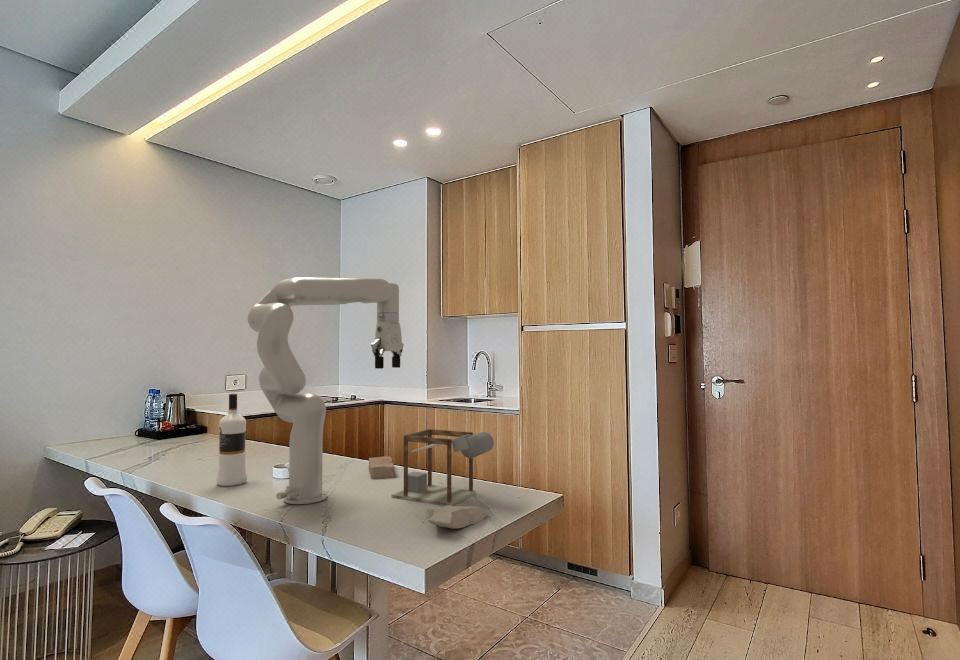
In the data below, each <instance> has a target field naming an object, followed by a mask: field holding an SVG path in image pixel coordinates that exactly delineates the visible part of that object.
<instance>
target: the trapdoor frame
mask: <svg viewBox="0 0 960 660" xmlns="http://www.w3.org/2000/svg"><path fill="white" fill-rule="evenodd" d="M467 434H470V435H474V432H472V431H462V430H461V431H459V430H458V431H457V430H449V429H448V430H447V429H446V430H444V429H435V428H434V429H431V428H427V429H425V430H420V431H416V432H413V433H410V434H409V433H408V434H405V435H403V489H401V490H398V491H397V492H394V493H392V494H390V496H391V498H393V499H400V500H406V501H414V502H419V503H420V502H421V503H426V504H434V505H439V506H440V505H441V506H447V505H451V506H456V505H457V504H459V503H460V502H462V501H464V500H466V499H467V498H470V497H471V496H473V495H475V494H476V490H474V458H468V489H465V488H457V487H452V443H451V439H452V438H441V437H432V436H442V437H454V438H458V437H461V436H464V435H467ZM409 442H410V443H422V444H427V445H431V444H442V445H441V446H443V445H444V446H446V486H441V485H435V484H432V483H433V482H432V481H433V473H432V472H433V470H432V469H433V468H432V466H433V460H432V459H433V455H432V454H433V451H432V449H433V447H432V448H428V449H427V489H426V490H424V491H422V492H419V493H414V492H408V473H409Z"/></svg>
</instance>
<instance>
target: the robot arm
mask: <svg viewBox="0 0 960 660" xmlns="http://www.w3.org/2000/svg"><path fill="white" fill-rule="evenodd" d="M352 303H353V304H355V303H362V304H372V303H376V315H377V316H376V326H375V331H374V332H375V336H374V341H373V342H372V343H371V344H370V347H371V351H372V354H373V357H374V368H375V369H378V370H379V369H384V366H385V365H384V361H385V360H384V358H385V357H384V356H383V355H384V354H385V352H391V354H392V356H391V367H392V368H393V369H394V368H401V356H402V353H403V351H404V350H403V349H404V345H405V344H404V343H403V342H402V341H403V340H402V339H403V337H402V327H401V324H400V287H399V285H398V284H397V283H393V282H388V281H387V280H386V279H383V278H348V277H346V278H345V277H311V276H308V277H307V276H303V277H302V276H299V277H298V276H297V277H291V278H286V279H282V280H280V281H278V282H277V283H276V284H275V285H274V286H273V287H271V288H270V289H269V290H268V291H267V292H266V293H265V294H264V296H262V297H261V298H260V299H259V300H258V301H257V302H256V303H255V304H254V305H253V306H252V308H250V310H249V312H248V314H247V322H248V325H249V327H250V328H251V329H252V330H253V331H255V332H256V333H257V334H258V335H257V340H256V348H257V353H258V356H259V359H260V360H261V363H262V364H263V366H264V367H263V368H262V369H261V370H260V373H259V374H258V375H259V376H258V381H259V382H258V383H259V387H260V389H261V390H262V393H263V394H264V397H266V399H267V400H268V403H269V404H270V406H271V407H272V409H273V411H274V413H276V415H277V417H278V418H280V419H281V420H282V421H283V422H287V423H292V428H291V429H290V430H291V431H290V435H289V441H288V442H289V449H288V450H289V454H288V455H289V456H288V457H289V458H288V459H289V460H288V461H289V463H288V464H289V465H288V466H289V469H288V471H289V473H288V475H289V476H288V477H289V479H288V485H286V489H285V490H284V491H280V492H277V493H276V495H275V497H276V499H277V500H278V501H280V500H282V499H283V502H284V503H286V504H291V505H308V504H315V503H319V502H322V501H324V500H326V499H327V498H328V491H325V490H323V456H324V455H323V454H324V453H323V449H324V448H323V447H324V446H323V443H324V442H323V439H324V438H323V435H324V425H325V420H326V414H327V407H326V406H327V405H326V403H325V401H324V399H323V398H322V397H320V395H317V394H315V393H311V392H304V391H303V390H304V388H305V387H306V384H307V379H306V375H305V373H304V371H303V369H302V367H301V366H300V364H299V362H298V361H297V359H296V357H295V355H294V354H293V351H292V350H291V347H290V345H289V340H288V338H289V332H290V330H291V327H292V325H293V323H294V312H293V309H291V307H295V306H296V307H297V306H335V305H337V306H339V305H347V304H352ZM302 391H303V392H302Z"/></svg>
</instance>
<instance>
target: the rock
mask: <svg viewBox="0 0 960 660" xmlns="http://www.w3.org/2000/svg"><path fill="white" fill-rule="evenodd" d="M426 511H427V514H428V516H429V518H427V522H428V523H429V524H432V525H435V526H438V527H440V528H447V529H448V528H449V529H454V530H455V529H462V528H465V527H467V526H470V525H471V526H472V525H476V524H478V523H479V522H481V521H482V520H484V519H485V518H487V516H488V514H489V511H488V510H487V509H485V508H482V507H479V506H463V505H461V506H460V505H459V506H456V505H453V506H451V505H447V506H446V505H443V506H440V507H439V506H437V507H428V508H427V510H426ZM477 522H478V523H477Z"/></svg>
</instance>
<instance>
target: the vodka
mask: <svg viewBox="0 0 960 660" xmlns="http://www.w3.org/2000/svg"><path fill="white" fill-rule="evenodd" d="M218 426H219V429H218V430H219V435H218V437H219V439H218V441H219V443H218V470H217V471H218V472H217V476H216V484H217V485H218V486H220V487H235V486H240V485H243V484H244V483H246V482H247V480H248V474H247V468H246V454H247V452H246V431H247V420H246V418H245V417H244V416H243V415H241V414H239V413H238V394H237V393H229V394H228V414H227V413H226V415H225V416H223V417H222V418H221V419H219V422H218Z"/></svg>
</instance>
